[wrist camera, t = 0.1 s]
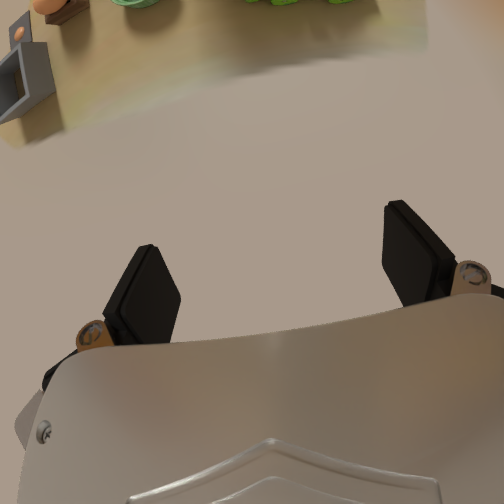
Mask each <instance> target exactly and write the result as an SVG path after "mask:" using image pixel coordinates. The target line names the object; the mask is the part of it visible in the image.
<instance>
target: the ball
mask: <svg viewBox="0 0 504 504" xmlns="http://www.w3.org/2000/svg"><path fill="white" fill-rule="evenodd" d="M66 2H67V0H34V1H33V7H34V10H35V11H36V12H37V13H39V14H42V15H48V14H52V13H54V12H56V11H58V10H59V9H60V8H62V7H63V6H64V4H65V3H66Z"/></svg>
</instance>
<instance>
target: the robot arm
mask: <svg viewBox="0 0 504 504" xmlns="http://www.w3.org/2000/svg"><path fill="white" fill-rule="evenodd" d="M382 266H383V269H384V271H385V272H386V274H387V276H388V278H389V280H390V281H391V283H392V285H393V287H394V289H395V291H396V293H397V295H398V297H399V299H400V301H401V303H402V304H403V307H402V308H398V309H394V310H390V311H385V312H381V313H376V314H372V315H367V316H363V317H358V318H353V319H348V320H343V321H338V322H332V323H327V324H322V325H316V326H310V327H304V328H298V329H291V330H285V331H278V332H271V333H264V334H256V335H249V336H240V337H231V338H222V339H212V340H201V341H189V342H176V343H170V340H171V336H172V332H173V329H174V325H175V321H176V317H177V314H178V310H179V306H180V302H181V297H180V293H179V291H178V289H177V287H176V285H175V283H174V281H173V279H172V277H171V275H170V273H169V270H168V268H167V266H166V264H165V262H164V260H163V258H162V255H161V253H160V251H159V249H158V247H154V246H153V245H152V244H149V245H144V246H140V247H139V248H138V249H137V251H136V252H135V254H134V256H133V257H132V259H131V261H130V263H129V264H128V267H127V268H126V270H125V272H124V273H123V275H122V277H121V279H120V281H119V283H118V284H117V286H116V288H115V290H114V292H113V294H112V296H111V297H110V300H109V302H108V303H107V305H106V307H105V309H104V311H103V313H102V314H103V315H104V317H105V321H104V322H103V321H101V320H94V321H92V322H89V323H88V324H86V325H85V326H84V327H83V328H82V329H81V330H80V331H79V333H78V335H77V337H76V346H77V349H76V350H75V351H74V352H72V353H71V354H69V355H68V356H67V357H65V358H64V359H63V360H61V361H60V362H59V363H58V364H56V365H55V366H53V367H52V368H51V369H49V370H48V371H47V372H46V373H45V375H44V379H43V382H42V388H43V391H41V390H39V391H38V392H37V393H36V394H35V395H34V396H33V398H32V399H31V400H30V401H29V403H28V404H27V405H26V406H25V407H24V409H23V410H22V411H21V413H20V414H19V415H18V417H17V418H16V421H15V431H16V434H17V435H18V438H19V440H20V442H21V443H22V445H23V447H24V449H25V451H26V452H25V456H24V460H23V466H22V471H21V476H20V483H19V490H18V498H17V504H504V288H501V287H498V286H496V285H493V284H491V275H490V273H489V271H488V270H487V269H486V268H485V266H483V265H482V264H480V263H477V262H475V261H463V262H460V263H459V264H458V263H457V262H456V260H455V255H454V254H453V253H452V252H451V251H450V250H449V248H448V247H447V246H446V245H445V244H444V243H443V242H442V240H441V239H440V238H439V237H438V236H437V235H436V234H435V233H434V232H433V231H432V229H431V228H430V227H429V226H428V225H427V224H426V223H425V222H424V221H423V220H422V219H421V218H420V217H419V216H418V215H417V214H416V213H415V212H414V211H413V210H412V209H411V208H410V207H409V206H408V205H407V204H406V203H405V202H404V201H403V200H397V201H389V203H388V205H387V206H385V208H384V233H383V251H382Z"/></svg>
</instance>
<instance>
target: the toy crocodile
mask: <svg viewBox="0 0 504 504" xmlns="http://www.w3.org/2000/svg"><path fill="white" fill-rule="evenodd" d="M245 1H246V2H248V3H250V2H255V1H258V0H245ZM297 1H298V0H271V3H272V4H273V5H288V4H292V3H295V2H297ZM328 1H329V2H330V3H334V4H340V3H347V2H351V1H353V0H328Z"/></svg>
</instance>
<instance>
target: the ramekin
mask: <svg viewBox="0 0 504 504" xmlns="http://www.w3.org/2000/svg"><path fill="white" fill-rule="evenodd" d="M111 1H112V2H113V3H115V4H117V5H121V6H128V7H132V8H144V7H148V6H150V5H153V4H155V3H156V2H158V1H159V0H111Z"/></svg>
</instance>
